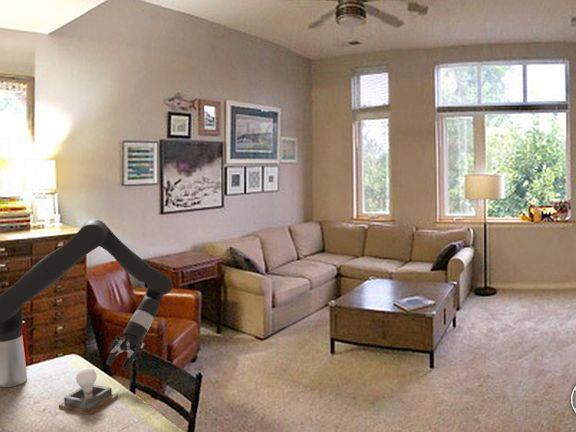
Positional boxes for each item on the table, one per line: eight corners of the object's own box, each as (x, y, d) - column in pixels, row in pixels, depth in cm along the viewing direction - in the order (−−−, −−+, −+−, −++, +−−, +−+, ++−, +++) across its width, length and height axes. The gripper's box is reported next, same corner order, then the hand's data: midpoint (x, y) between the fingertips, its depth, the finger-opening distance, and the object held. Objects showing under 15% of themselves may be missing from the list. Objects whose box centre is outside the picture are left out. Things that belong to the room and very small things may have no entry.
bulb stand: (59, 407, 167) (57, 397, 167) (86, 391, 178) (85, 381, 177) (91, 414, 161) (90, 404, 161) (118, 397, 172) (117, 387, 172)
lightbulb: (91, 404, 166) (88, 372, 165) (74, 403, 167) (71, 371, 166) (102, 395, 172) (99, 364, 171) (85, 394, 173) (82, 363, 172)
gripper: (119, 317, 188) (95, 358, 180) (145, 323, 180) (122, 366, 172) (132, 327, 193) (110, 367, 185) (158, 332, 185) (136, 375, 177)
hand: (115, 366), depth 178 cm, fingers open, 8 cm apart
